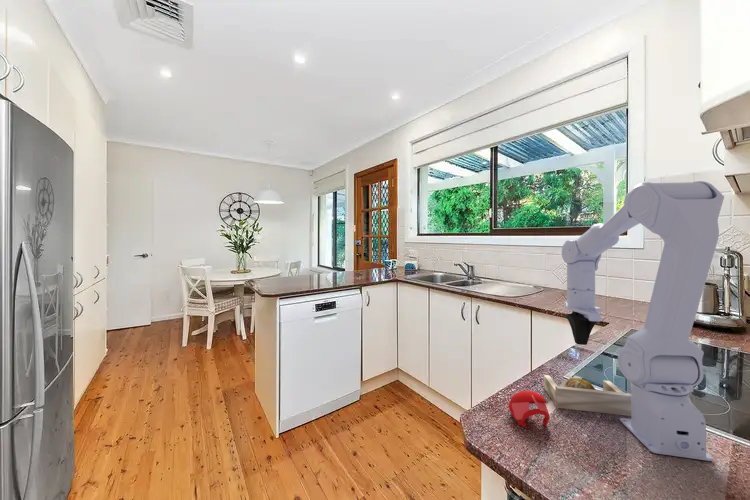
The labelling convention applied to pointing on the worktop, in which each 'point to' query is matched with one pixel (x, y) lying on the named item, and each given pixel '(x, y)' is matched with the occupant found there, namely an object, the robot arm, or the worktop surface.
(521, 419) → the red toy helmet
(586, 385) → the fruit
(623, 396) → the holder
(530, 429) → the worktop surface
